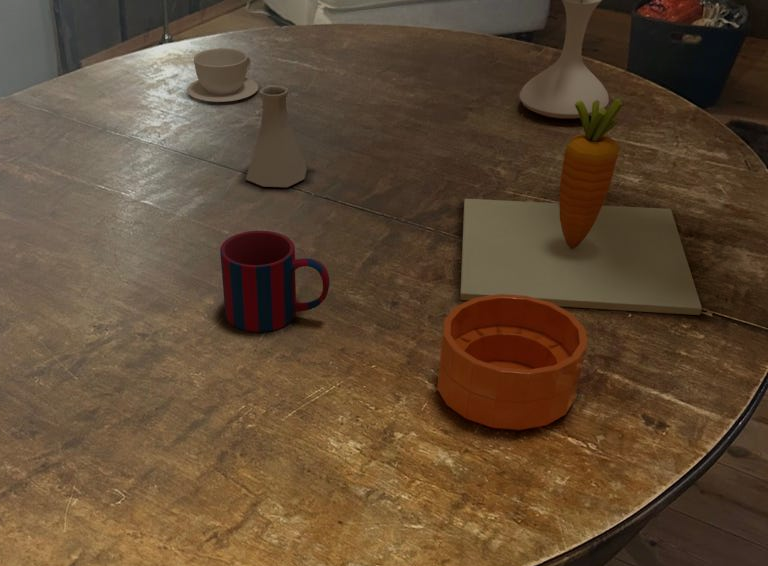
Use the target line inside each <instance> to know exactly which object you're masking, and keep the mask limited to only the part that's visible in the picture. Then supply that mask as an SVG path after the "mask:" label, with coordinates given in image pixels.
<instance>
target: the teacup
mask: <svg viewBox="0 0 768 566" xmlns="http://www.w3.org/2000/svg"><path fill="white" fill-rule="evenodd" d="M193 64H194V69H195V75H196V76H197V79H198V80H195V81H194V82H192V83H190V84H189V85H188V86H187V89H186V92H187V94H188V95H189V96H191V98H194V99H198V100H200V101H205V102H212V103H213V102H214V103H215V102H216V103H220V102H221V103H223V102H233V101H238V100H243V99H246V98H248V97H250V96H252V95H254V94H255V93H256V92H257V91H258V89H259V85H258V83H257V82H256V81H255V80H253V79H250V78H248V77H246V76H247V73H248V72H249V70H250V68H251V58H250V56H248V54H247V53H246V52H245V51H243V50H241V49H236V48H229V47H221V48H210V49H206V50H202V51H200V52H198V53H196V54H194V57H193Z"/></svg>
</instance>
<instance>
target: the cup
mask: <svg viewBox="0 0 768 566" xmlns="http://www.w3.org/2000/svg"><path fill="white" fill-rule="evenodd" d="M219 253H220V265H221V276H222V277H221V279H222V289H223V290H222V292H223V303H224V304H223V305H224V314H225V315H224V316H225V318H226V320H227V321H228V323H229V324H231V325H232V326H233V327H235V328H237V329H239V330H242V331H246V332H252V333H264V332H265V333H266V332H271V331H276V330H279V329H281V328H283V327H285V326H287V325H289V323H291V322H292V321H293V320H294V318H295V317H296V314H297V313H300V312H306V311H310V310H313V309H315V308H317V307H318V306H320V305H321V304H322V303H323V302H324V301H325V300H326V298H327V296H328V293H329V289H330V276H329V275H330V274H329V272H328V270H327V268H326V267H325V265H324V264H323V263H322V262H321V261H319V260H317V259H313V258H307V257H305V258H297V259H296V247H295V243H294V242H293V240H292V239H291V238H289V237H288V236H286V235H284V234H282V233H279V232H276V231H271V230H249V231H244V232H243V231H242V232H240V233H236V234H234V235H232V236H230V237H228V238H227V239H226V240H225V241H223V243H221V246H220V249H219ZM302 267H309V268H312V269H314V270H316V271H317V272H318V273H319V276H320V277H321V281H322V290H321V291H322V292H321V294H320V295H319V297H318V298H316V299H313V300H311V301H305V302H299V301H297V286H296V285H297V283H296V282H297V281H296V270H297V269H300V268H302Z"/></svg>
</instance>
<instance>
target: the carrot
mask: <svg viewBox="0 0 768 566" xmlns="http://www.w3.org/2000/svg"><path fill="white" fill-rule="evenodd" d="M575 107H576V109H577V111H578V113H579V116H580V118H579V120H580V122H581V125H582V128H583V131H584V132H583V133H579V134H576V135H574V136H573V137H572V138H571V139H570V141H569V142H568V145H567V146H566V148H565V152H564V155H563V156H564V157H563V162H562V167H561V168H562V169H561V174H560V175H561V176H560V183H559V194H558V195H559V197H558V198H559V200H558V201H559V209H560V222H561V227H562V232H563V235H564V237H565V240H566V243H567V245H568V246H569V247H570V248H571V249H574V248H575V247H577V246H578V245H579V244H580V243H581V242H582V241H583V240H584V238H585V237H586V236H587V234H588V233H589V231H590V230H591V228H592V227H593V225H594V223H595V221H596V219H597V216H598V214H599V212H600V210H601V207H602V205H603V206H604V202H605V200H606V198H607V195H608V192H609V190H610V186H611V182H612V179H613V177H614V176H613V175H614V172H615V168H616V164H617V160H618V156H619V150H620V145H619V143H618V142H617V140H614V138H611V136H608V135H607V133H608V132H610V130H612V129H613V128H614V127H616V125H618V124H619V120H618V119H615V117H616V116H617V114H618V113H619V112H620V110H621V108H622V107H623V103H622V100H621V99H619V98H615V99H614V100H613V101H612V103H610V105H609V107H608V108H607V109H606V107H605V108H600V110H599V101H598V100H597V101H594V102H593V104H592V114H591V116H588V112H587V109H586V107H585V105H584V103H583V102H582V101H581V100H580V101H578V102H576V103H575ZM589 117H590V118H589Z"/></svg>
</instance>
